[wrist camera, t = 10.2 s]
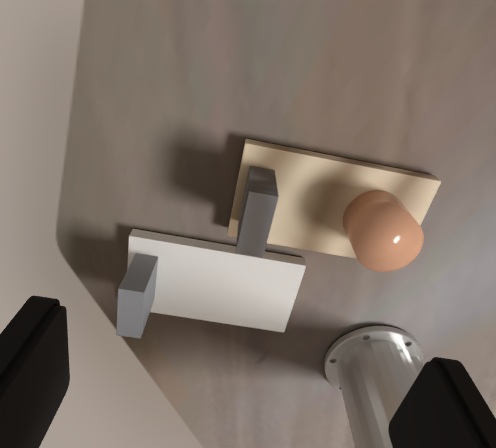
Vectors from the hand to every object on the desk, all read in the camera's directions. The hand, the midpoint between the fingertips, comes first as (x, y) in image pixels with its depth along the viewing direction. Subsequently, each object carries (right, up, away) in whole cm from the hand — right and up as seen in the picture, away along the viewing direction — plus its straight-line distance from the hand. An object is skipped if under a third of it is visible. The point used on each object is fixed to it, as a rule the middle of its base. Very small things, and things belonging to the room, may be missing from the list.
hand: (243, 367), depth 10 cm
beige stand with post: (+8, +6, +29) cm, 31 cm away
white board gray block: (-4, -3, +34) cm, 34 cm away
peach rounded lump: (+13, +4, +28) cm, 31 cm away
